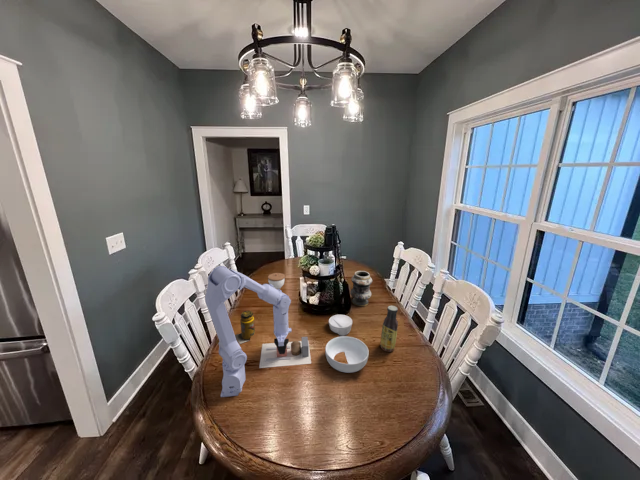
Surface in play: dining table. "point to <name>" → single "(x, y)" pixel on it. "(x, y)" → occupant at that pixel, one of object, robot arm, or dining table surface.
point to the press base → (272, 360)
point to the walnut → (295, 348)
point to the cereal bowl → (347, 353)
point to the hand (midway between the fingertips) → (282, 349)
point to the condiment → (246, 327)
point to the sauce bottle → (389, 330)
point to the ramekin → (340, 324)
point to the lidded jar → (276, 280)
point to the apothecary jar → (361, 288)
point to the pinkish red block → (282, 354)
